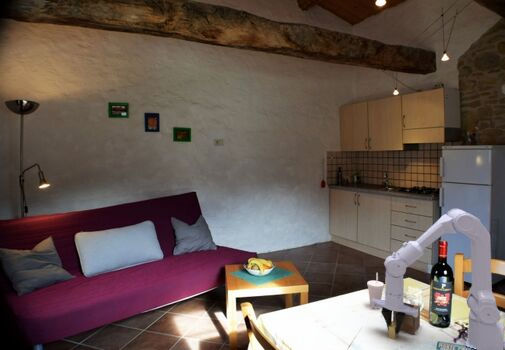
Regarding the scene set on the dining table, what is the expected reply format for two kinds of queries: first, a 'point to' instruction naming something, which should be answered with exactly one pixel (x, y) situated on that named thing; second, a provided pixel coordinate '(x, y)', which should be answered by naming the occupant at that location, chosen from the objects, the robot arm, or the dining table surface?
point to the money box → (409, 320)
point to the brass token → (392, 330)
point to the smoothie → (375, 290)
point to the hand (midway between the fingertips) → (393, 331)
